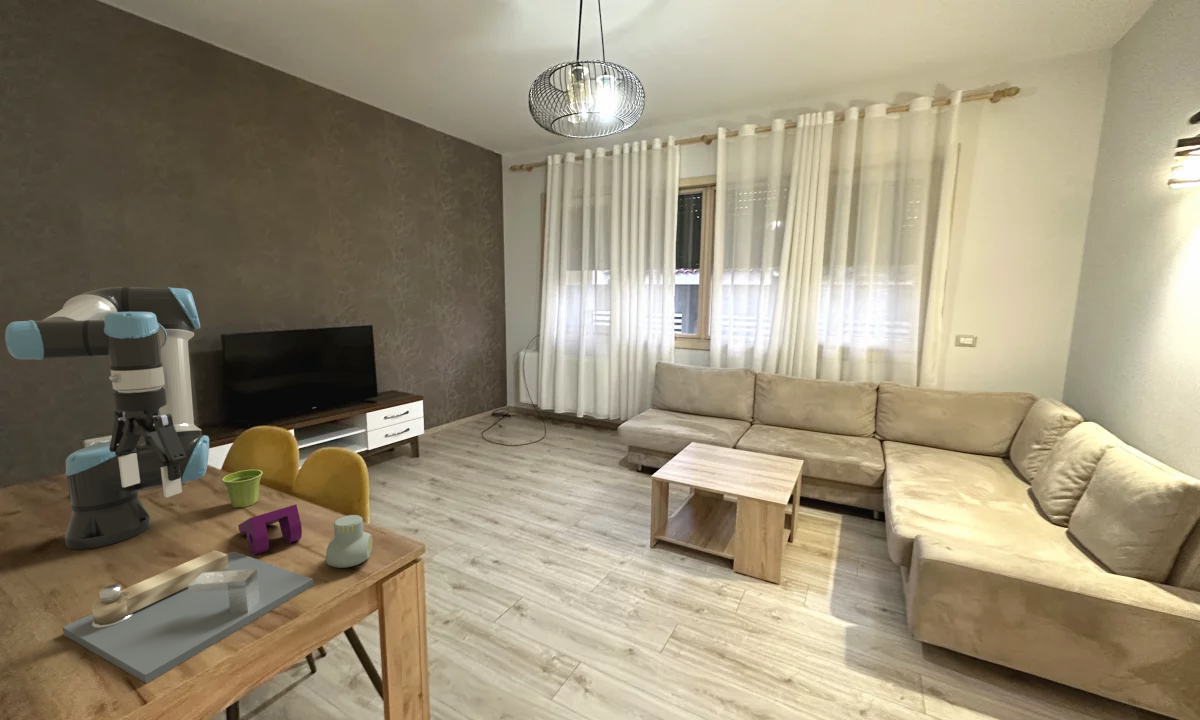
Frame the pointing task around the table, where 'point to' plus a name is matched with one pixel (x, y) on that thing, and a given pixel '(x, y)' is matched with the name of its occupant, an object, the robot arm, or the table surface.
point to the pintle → (108, 596)
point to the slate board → (184, 622)
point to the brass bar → (158, 587)
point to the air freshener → (349, 543)
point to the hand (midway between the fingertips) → (151, 489)
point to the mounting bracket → (258, 524)
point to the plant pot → (243, 487)
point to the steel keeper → (231, 587)
